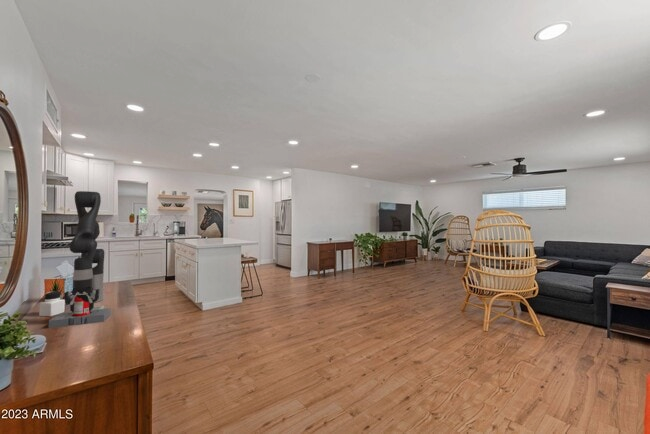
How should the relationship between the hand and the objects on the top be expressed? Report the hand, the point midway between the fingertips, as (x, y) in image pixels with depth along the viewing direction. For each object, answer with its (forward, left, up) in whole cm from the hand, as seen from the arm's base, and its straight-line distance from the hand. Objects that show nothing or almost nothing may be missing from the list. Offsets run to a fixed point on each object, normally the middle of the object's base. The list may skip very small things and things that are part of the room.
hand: (82, 310), depth 139 cm
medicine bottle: (-20, -18, -5) cm, 28 cm away
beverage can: (0, 0, -3) cm, 3 cm away
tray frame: (-13, -1, -5) cm, 14 cm away
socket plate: (0, 0, -5) cm, 5 cm away
